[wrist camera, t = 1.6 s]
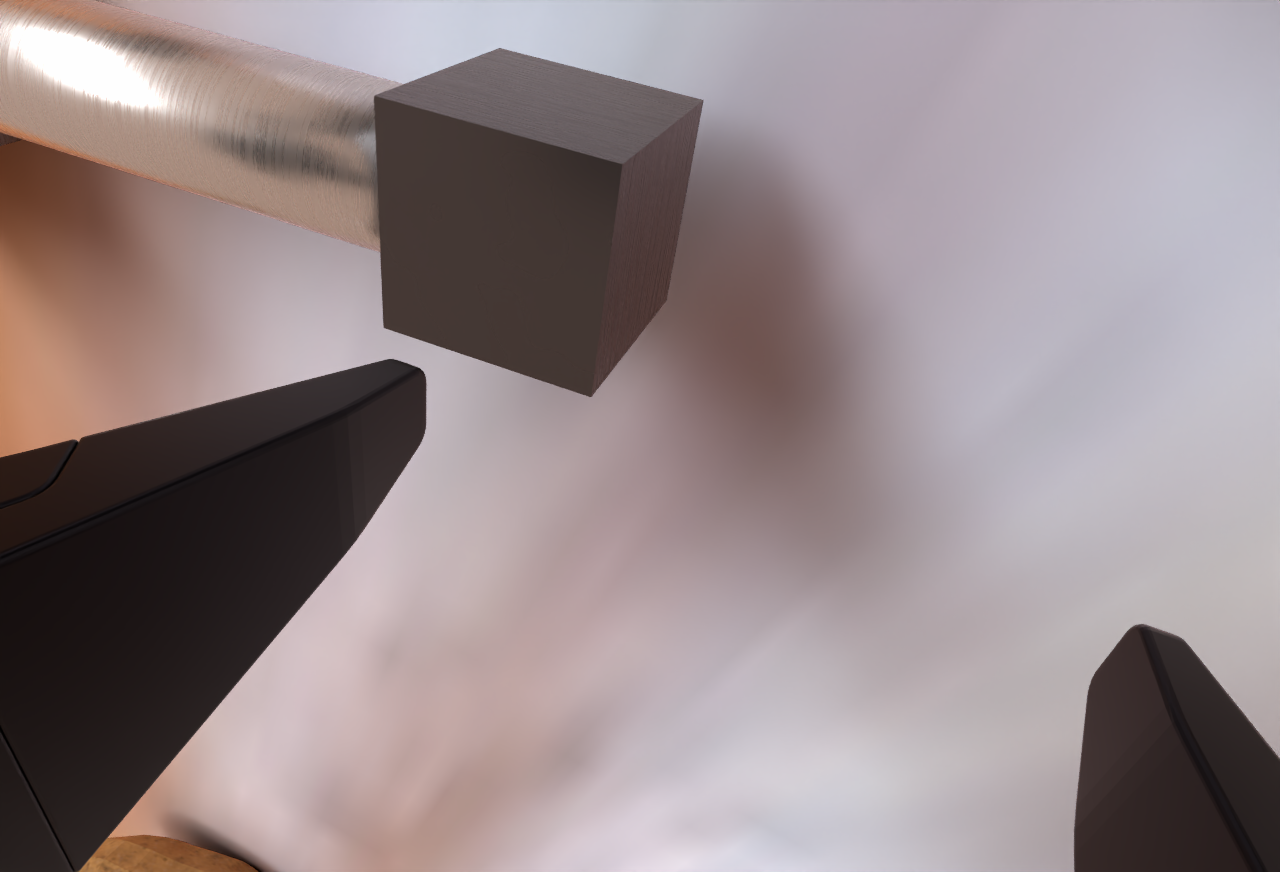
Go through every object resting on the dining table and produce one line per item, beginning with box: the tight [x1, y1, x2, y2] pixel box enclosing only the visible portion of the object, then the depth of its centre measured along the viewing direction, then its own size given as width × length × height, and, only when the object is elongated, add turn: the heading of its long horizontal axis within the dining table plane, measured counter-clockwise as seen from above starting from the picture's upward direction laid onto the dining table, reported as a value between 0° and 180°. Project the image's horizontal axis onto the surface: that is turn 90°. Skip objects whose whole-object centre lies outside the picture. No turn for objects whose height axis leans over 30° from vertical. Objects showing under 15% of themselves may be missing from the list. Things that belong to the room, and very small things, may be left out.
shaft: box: [0, 0, 703, 397], centre depth 17 cm, size 22×4×4 cm, turn 81°
